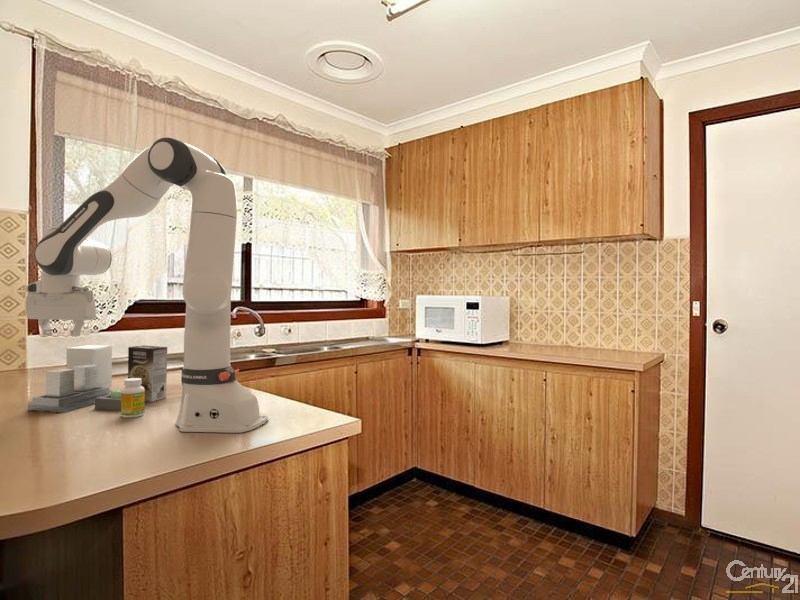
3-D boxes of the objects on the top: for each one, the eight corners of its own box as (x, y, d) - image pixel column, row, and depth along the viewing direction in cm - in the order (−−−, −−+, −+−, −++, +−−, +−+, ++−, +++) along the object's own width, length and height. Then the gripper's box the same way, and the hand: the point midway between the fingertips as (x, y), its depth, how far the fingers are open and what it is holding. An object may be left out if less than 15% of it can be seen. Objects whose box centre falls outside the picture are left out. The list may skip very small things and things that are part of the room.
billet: (74, 400, 130) (74, 369, 130) (59, 404, 126) (59, 372, 126) (61, 399, 131) (61, 368, 131) (45, 403, 127) (46, 371, 126)
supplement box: (112, 390, 151) (113, 345, 151) (91, 396, 142) (92, 348, 142) (87, 389, 152) (88, 344, 152) (65, 395, 143) (65, 347, 143)
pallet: (112, 398, 140) (113, 364, 139) (61, 412, 123) (61, 374, 123) (82, 396, 142) (82, 362, 142) (28, 410, 125) (28, 371, 125)
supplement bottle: (133, 418, 119) (134, 381, 119) (115, 417, 120) (116, 380, 120) (148, 413, 124) (149, 378, 124) (131, 412, 125) (132, 376, 125)
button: (129, 400, 133) (130, 390, 133) (118, 403, 129) (119, 392, 129) (118, 399, 133) (118, 389, 133) (106, 402, 129) (106, 392, 129)
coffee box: (126, 400, 139) (127, 347, 138) (143, 395, 145) (143, 344, 145) (151, 402, 136) (152, 348, 136) (167, 397, 143) (168, 346, 142)
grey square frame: (141, 403, 134) (141, 393, 134) (119, 410, 126) (119, 399, 126) (117, 402, 136) (117, 392, 136) (94, 408, 128) (94, 398, 128)
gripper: (101, 287, 129) (102, 335, 129) (42, 286, 133) (42, 333, 133) (82, 286, 123) (82, 338, 123) (20, 286, 127) (20, 336, 127)
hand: (61, 335), depth 128 cm, fingers open, 8 cm apart
